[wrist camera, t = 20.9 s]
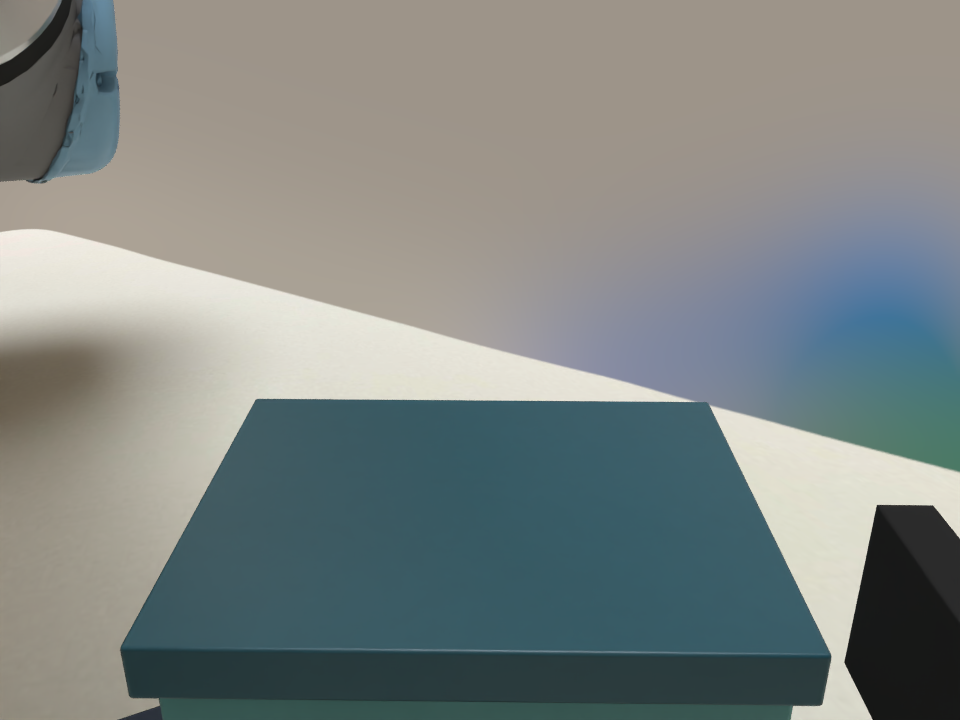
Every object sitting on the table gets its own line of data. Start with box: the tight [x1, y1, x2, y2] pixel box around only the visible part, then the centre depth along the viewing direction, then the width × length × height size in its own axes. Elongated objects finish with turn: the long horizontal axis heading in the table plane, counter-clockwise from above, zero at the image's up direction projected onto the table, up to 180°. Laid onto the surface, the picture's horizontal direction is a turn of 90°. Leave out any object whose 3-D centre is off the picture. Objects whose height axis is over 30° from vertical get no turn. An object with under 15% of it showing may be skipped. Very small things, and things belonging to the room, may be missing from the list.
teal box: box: [120, 399, 831, 720], centre depth 20 cm, size 9×11×10 cm
